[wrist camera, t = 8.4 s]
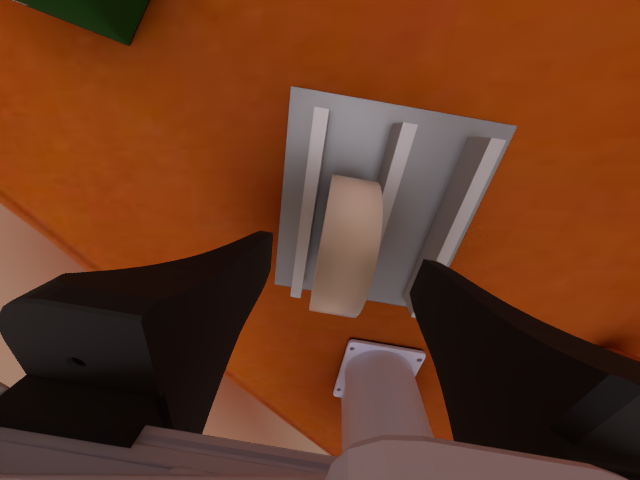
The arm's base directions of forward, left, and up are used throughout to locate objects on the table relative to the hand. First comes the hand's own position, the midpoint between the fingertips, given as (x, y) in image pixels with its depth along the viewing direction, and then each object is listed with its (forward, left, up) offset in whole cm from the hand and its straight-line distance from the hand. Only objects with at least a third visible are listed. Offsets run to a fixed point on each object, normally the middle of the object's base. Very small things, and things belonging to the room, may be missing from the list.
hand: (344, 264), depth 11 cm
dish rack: (0, -2, -8) cm, 8 cm away
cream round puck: (0, 0, -7) cm, 7 cm away
